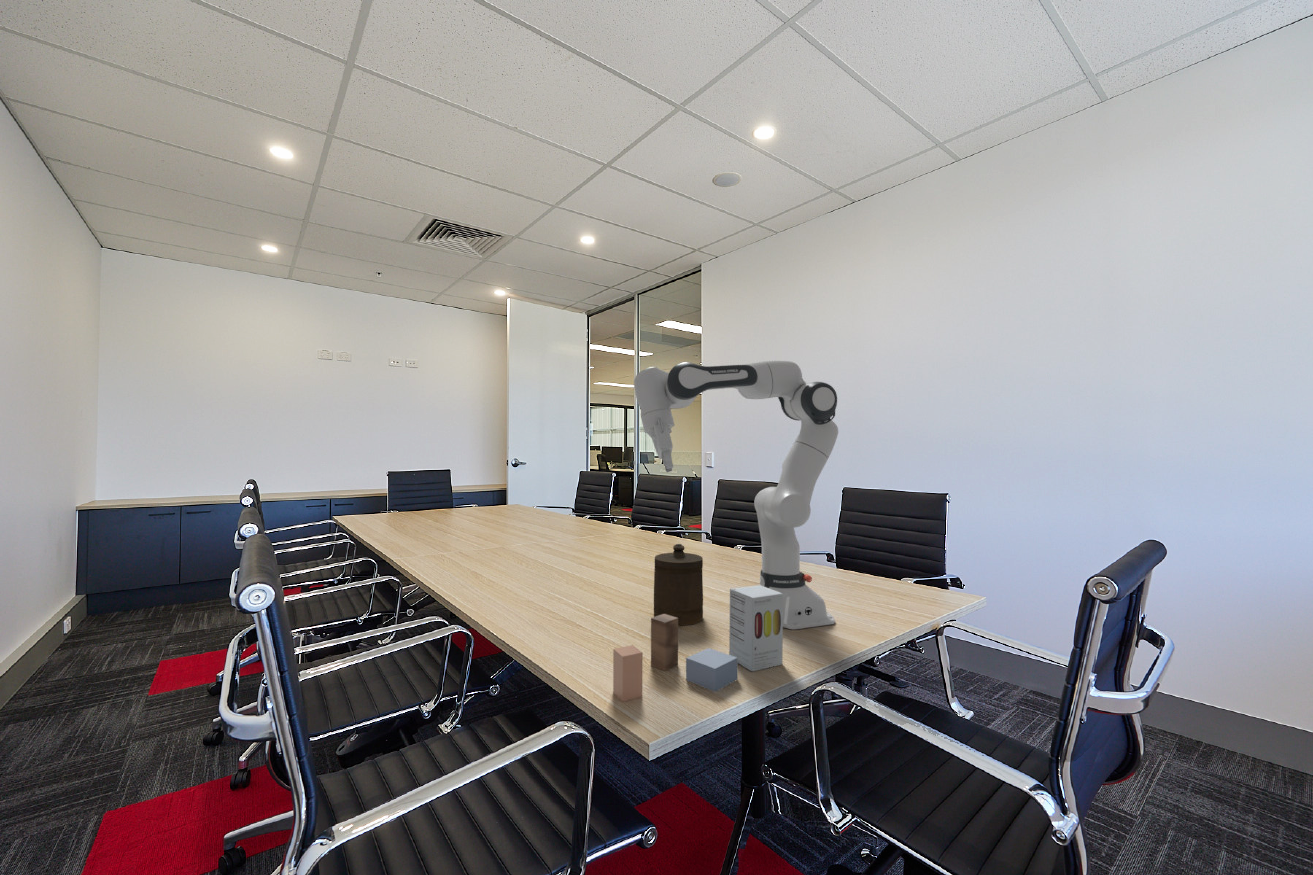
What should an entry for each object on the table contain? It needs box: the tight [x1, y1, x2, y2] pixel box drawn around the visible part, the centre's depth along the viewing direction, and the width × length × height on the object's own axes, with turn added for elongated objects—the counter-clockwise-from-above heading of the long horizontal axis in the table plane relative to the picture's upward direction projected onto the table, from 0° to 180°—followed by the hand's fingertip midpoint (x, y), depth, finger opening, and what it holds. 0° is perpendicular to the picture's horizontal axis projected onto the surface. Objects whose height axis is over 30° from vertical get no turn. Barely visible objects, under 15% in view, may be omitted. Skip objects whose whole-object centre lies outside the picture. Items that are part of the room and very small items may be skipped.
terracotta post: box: [612, 644, 644, 702], centre depth 106 cm, size 4×4×9 cm
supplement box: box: [728, 584, 784, 672], centre depth 123 cm, size 10×9×17 cm
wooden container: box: [653, 543, 704, 627], centre depth 155 cm, size 15×15×22 cm
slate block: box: [685, 647, 738, 693], centre depth 113 cm, size 8×8×5 cm
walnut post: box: [650, 614, 679, 672], centre depth 121 cm, size 4×4×11 cm
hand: (669, 470), depth 145 cm, fingers open, 8 cm apart
